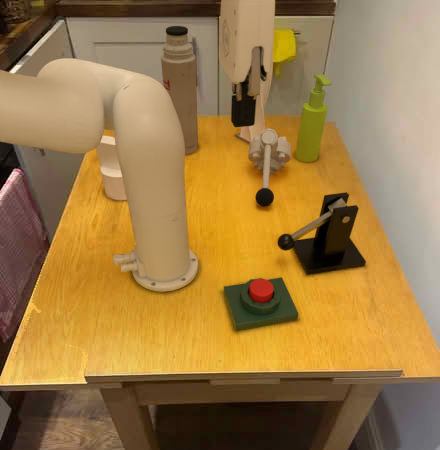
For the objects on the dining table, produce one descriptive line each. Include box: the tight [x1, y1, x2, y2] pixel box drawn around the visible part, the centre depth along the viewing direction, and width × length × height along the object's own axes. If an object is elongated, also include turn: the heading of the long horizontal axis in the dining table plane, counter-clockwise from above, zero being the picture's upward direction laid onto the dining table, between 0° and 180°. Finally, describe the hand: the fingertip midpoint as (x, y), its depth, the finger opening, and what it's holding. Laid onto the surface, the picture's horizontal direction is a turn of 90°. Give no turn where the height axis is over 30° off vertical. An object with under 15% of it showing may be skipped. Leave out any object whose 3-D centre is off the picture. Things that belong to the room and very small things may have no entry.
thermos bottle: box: [160, 25, 199, 155], centre depth 100 cm, size 8×8×28 cm
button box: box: [223, 276, 300, 332], centre depth 71 cm, size 11×9×4 cm
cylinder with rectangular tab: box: [95, 134, 127, 201], centre depth 92 cm, size 9×9×12 cm
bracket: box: [292, 191, 367, 276], centre depth 77 cm, size 12×9×13 cm
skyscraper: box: [235, 53, 274, 145], centre depth 104 cm, size 8×8×28 cm
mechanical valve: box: [247, 128, 292, 208], centre depth 97 cm, size 10×18×15 cm
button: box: [249, 278, 274, 303], centre depth 69 cm, size 4×4×2 cm
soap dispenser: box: [294, 73, 332, 163], centre depth 100 cm, size 6×7×20 cm
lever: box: [277, 198, 348, 252], centre depth 75 cm, size 14×3×3 cm
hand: (242, 123), depth 61 cm, fingers closed
